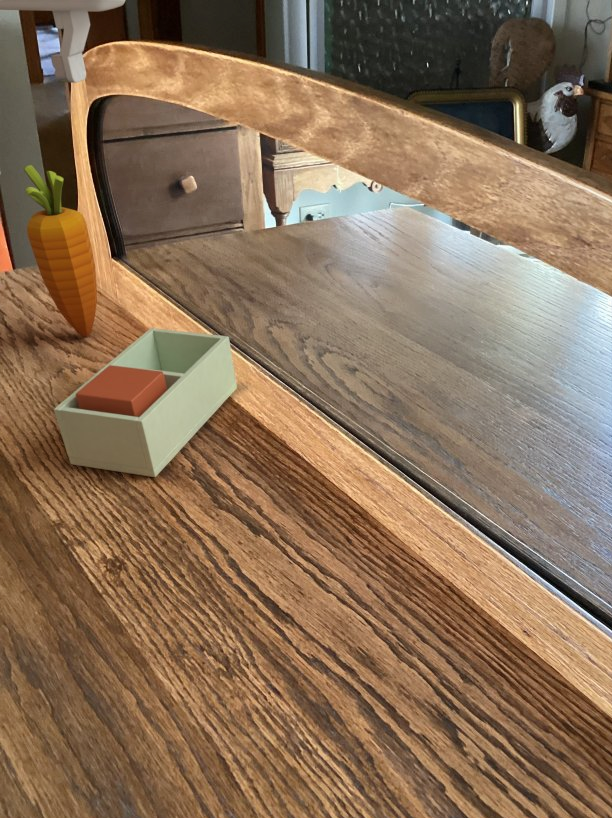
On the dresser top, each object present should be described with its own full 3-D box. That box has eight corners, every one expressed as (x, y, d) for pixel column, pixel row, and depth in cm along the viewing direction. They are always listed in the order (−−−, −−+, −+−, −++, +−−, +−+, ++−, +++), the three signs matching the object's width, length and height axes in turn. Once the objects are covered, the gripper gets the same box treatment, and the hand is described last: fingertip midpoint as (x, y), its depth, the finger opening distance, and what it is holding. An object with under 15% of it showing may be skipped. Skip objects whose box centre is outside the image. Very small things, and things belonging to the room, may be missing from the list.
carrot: (121, 339, 81) (79, 168, 72) (66, 353, 79) (16, 179, 70) (104, 320, 85) (62, 154, 75) (52, 334, 83) (2, 165, 74)
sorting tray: (70, 464, 65) (53, 409, 62) (161, 378, 75) (150, 327, 72) (155, 477, 63) (141, 421, 60) (237, 388, 73) (229, 336, 70)
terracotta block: (90, 448, 65) (74, 393, 62) (123, 417, 68) (109, 364, 66) (145, 456, 64) (131, 401, 61) (175, 425, 67) (163, 371, 64)
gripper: (122, -163, 57) (162, 74, 66) (-134, -153, 63) (-65, 66, 71) (65, -162, 53) (117, 93, 61) (-206, -152, 58) (-124, 82, 66)
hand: (17, 78), depth 66 cm, fingers open, 8 cm apart
